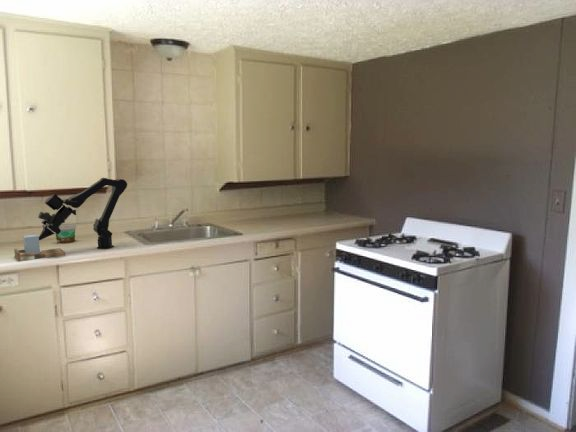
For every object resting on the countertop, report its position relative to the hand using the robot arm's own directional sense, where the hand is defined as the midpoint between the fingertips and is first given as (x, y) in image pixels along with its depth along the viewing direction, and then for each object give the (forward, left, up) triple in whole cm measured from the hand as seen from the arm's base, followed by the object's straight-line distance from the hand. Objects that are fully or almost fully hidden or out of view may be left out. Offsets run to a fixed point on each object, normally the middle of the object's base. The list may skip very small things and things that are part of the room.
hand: (38, 239), depth 235 cm
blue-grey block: (+2, +2, -7) cm, 8 cm away
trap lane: (0, 0, -8) cm, 8 cm away
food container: (+9, -32, -9) cm, 34 cm away
